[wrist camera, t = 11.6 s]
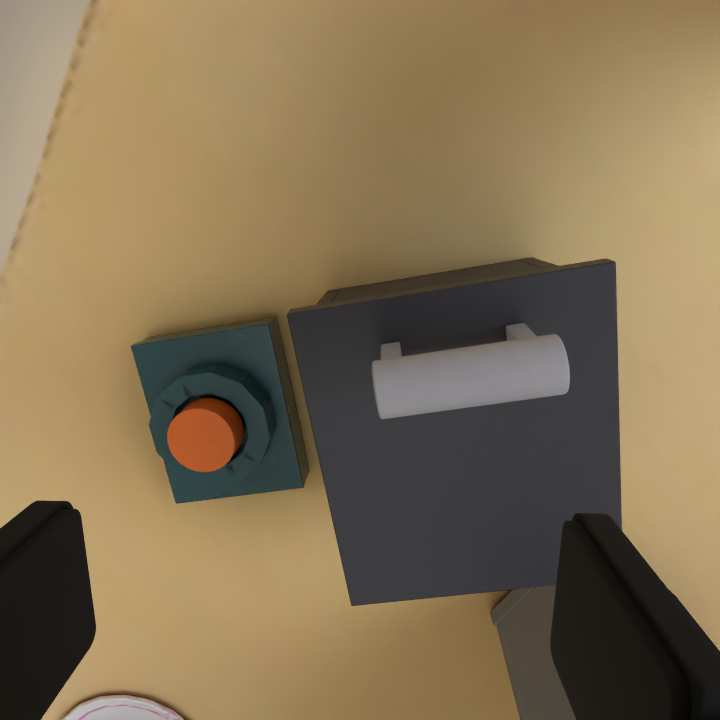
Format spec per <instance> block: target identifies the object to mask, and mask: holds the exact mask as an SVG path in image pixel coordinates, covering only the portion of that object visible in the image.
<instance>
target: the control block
mask: <svg viewBox="0 0 720 720" xmlns="http://www.w3.org/2000/svg"><path fill="white" fill-rule="evenodd" d="M131 348H132V352H133V355H134V359H135V362H136V366H137V369H138V373H139V376H140V380H141V383H142V387H143V390H144V394H145V397H146V401H147V404H148V408H149V411H150V415H151V419H150V424H149V426H150V430H151V433H152V437H153V440H154V444H155V447H156V451H157V453H158V454H159V455H160V456H161V457H162V458H163V460H164V464H165V467H166V471H167V474H168V478H169V481H170V485H171V488H172V492H173V495H174V499H175V502H176V504H177V503H185V502H193V501H201V500H209V499H217V498H225V497H233V496H241V495H249V494H257V493H265V492H272V491H280V490H288V489H296V488H303V487H304V485H305V482H306V479H307V476H308V473H309V467H308V462H307V457H306V453H305V448H304V443H303V438H302V434H301V429H300V424H299V420H298V415H297V410H296V405H295V401H294V396H293V391H292V387H291V382H290V377H289V372H288V368H287V363H286V358H285V354H284V349H283V344H282V339H281V335H280V330H279V325H278V321H277V317H271V318H265V319H259V320H253V321H246V322H240V323H234V324H228V325H221V326H215V327H209V328H203V329H196V330H190V331H184V332H177V333H171V334H165V335H159V336H152V337H148V338H146V339H144V340H142V341H140V342H138V343H136V344H134V345H132V346H131ZM201 398H215V399H219V400H222V401H224V402H226V403H227V404H229V405H230V406H232V407H233V408H234V409H235V411H236V412H237V413H238V415H239V416H240V418H241V421H242V424H243V439H242V442H241V444H240V446H239V447H238V449H237V450H236V452H235V453H234V455H233V456H232V458H231V459H230V461H229V462H228V463H227V464H226V465H225V466H223V467H222V468H220V469H218V470H215V471H211V472H198V471H194V470H191V469H189V468H187V467H185V466H183V465H182V464H180V463H179V462H178V461H177V460H176V459H175V457H174V456H173V455H172V453H171V451H170V449H169V446H168V441H167V432H168V428H169V425H170V423H171V422H172V420H173V419H174V418H175V417H176V416H177V415H178V414H179V413H180V412H181V411H182V410H183V409H184V408H185V407H186V406H187V405H189V404H190V403H191V402H193V401H195V400H198V399H201Z"/></svg>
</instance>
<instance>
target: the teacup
mask: <svg viewBox="0 0 720 720" xmlns="http://www.w3.org/2000/svg"><path fill="white" fill-rule="evenodd" d="M63 720H185V719H183V718H182V717H181V716H180V715H178V714H177V713H176V712H175V711H174V710H171V709H169V708H167V707H165V706H163V705H161V704H159V703H156V702H154V701H152V700H150V699H145V698H140V697H135V696H130V695H110V696H99V697H97V698H94V699H91V700H89V701H86V702H83V703H80V704H79V705H78V706H76V707H75V708H74V709H73V710H72V711H71V712H69V713H68V714H67V715H66V716H65V717H64V718H63Z"/></svg>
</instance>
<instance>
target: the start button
mask: <svg viewBox="0 0 720 720" xmlns="http://www.w3.org/2000/svg"><path fill="white" fill-rule="evenodd" d="M242 439H243V424H242V421H241V418H240V416H239V415H238V413H237V412H236V411H235V409H234V408H233V407H232V406H230V405H229V404H227V403H226V402H224V401H222V400H219V399H215V398H201V399H198V400H195V401H193V402H191V403H190V404H189V405H187V406H186V407H185V408H184V409H183V410H182V411H181V412H180V413H179V414H178V415H177V416H176V417H175V418H174V419H173V420H172V422H171V423H170V425H169V428H168V432H167V441H168V446H169V449H170V451H171V453H172V455H173V456H174V457H175V459H176V460H177V461H178V462H179V463H180V464H182V465H183V466H185V467H187V468H189V469H191V470H194V471H198V472H211V471H215V470H218V469H220V468H222V467H223V466H225V465H226V464H227V463H228V462H229V461H230V459H231V458H232V456H233V455H234V453H235V452H236V450H237V449H238V447H239V446H240V444H241V442H242Z"/></svg>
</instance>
